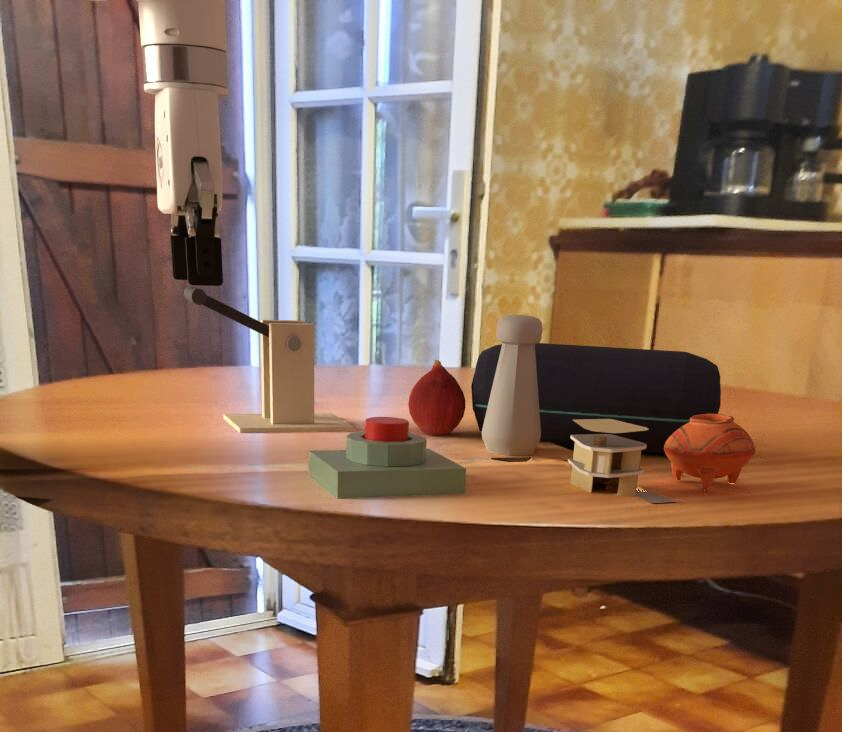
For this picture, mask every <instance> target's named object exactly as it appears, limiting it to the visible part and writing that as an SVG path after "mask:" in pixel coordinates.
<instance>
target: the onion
mask: <svg viewBox="0 0 842 732" xmlns="http://www.w3.org/2000/svg"><path fill="white" fill-rule="evenodd" d="M407 405H408V412H409V415H410V417H411V419H412V421H413V422H414V424H415V425H416V426H417V427H418V428H419V430H420V431H421V432H422V433H423V434H424V435H425V436H429V437H445V436H447V435H449V434H450V433H452V432H453V431H454V430H455V429H456V428H457V427H458V426H459V425H460V423H461V422H462V420H463V418H464V416H465V412H466V397H465V393H464V391H463V390H462V387H461V386H460V384H459V382H458V381H457V379H456V378H455V376H453V374H451V373H450V372H449V371H448V370H447V369H446V368H445V367H444V366H443V365H442V362H441V360H439V359H434V361H433V364H432V367H431V369H430V370H429V371H428V372H426V373H425V374H424V375H422V376H421V377H420V378H419V379H418V381H417V382H416V383H415V384H414V385H413V388H412V389H411V391H410V394H409V397H408V404H407Z"/></svg>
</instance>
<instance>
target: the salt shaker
mask: <svg viewBox="0 0 842 732" xmlns="http://www.w3.org/2000/svg"><path fill="white" fill-rule="evenodd" d="M542 338H543V322H542V321H541V319H540V318H538V317H536V316H534V315H533V316H532V315H528V314H527V315H524V314H506V315H504V316H501V318H500V319H499V320H498V321H497V326H496V340H497V341H498V342H500V343H501V344H502V347H501V352H500V356H499V360H498V364H497V369H496V373H495V377H494V381H493V386H492V390H491V394H490V398H489V403H488V407H487V411H486V416H485V420H484V424H483V428H482V432H481V439H482V441H483V444H484V447H485V449H486V451H487V452H489V453H490V454H495V455H501V456H508V457H490V459H491V460H493V461H499V462H505V463H527V462H528V461H529V460H531V459H532V456H530V455H533V454H534V452H535V451H536V449H537V447H538V445H539V443H540V442H541V441H540V438H541V426H540V412H539V398H538V384H537V370H536V356H535V344H537V343H541V341H542ZM510 456H511V457H510ZM512 456H513V457H512Z"/></svg>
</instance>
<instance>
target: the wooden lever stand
mask: <svg viewBox="0 0 842 732" xmlns="http://www.w3.org/2000/svg"><path fill="white" fill-rule="evenodd" d="M259 321H260V322H262V323H264V324H266V325H268V326H269V338H268V337H266V336H264V335H262V334H260V360H261V361H260V363H261V366H260V367H261V410H262V411H261V413H223V420H224V421H226V422H227V424H229V425H230V426H232V428H233V429H235V430H236V431H237V432H238V433H240V434H251V433H252V434H253V433H256V434H258V433H266V434H267V433H323V432H324V433H325V432H326V433H328V432H333V433H334V432H335V433H336V432H337V433H338V432H356V426H354V425H353V424H351V423H349V422H347V420H344V419H342V418H341V417H339V416H337V415H336V414H334V413H332V412H331V413H330V412H319V413H318V412H316V413H315V324H314V323H305V321H304V320H297V319H296V320H295V319H293V320H291V319H290V320H289V319H260V320H259ZM268 344H269V345H268Z"/></svg>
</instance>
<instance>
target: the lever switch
mask: <svg viewBox="0 0 842 732" xmlns="http://www.w3.org/2000/svg"><path fill="white" fill-rule="evenodd" d="M183 296H184V298H185V300H186V301H188V302H190V303H192V304H195V305H197V306H204V307H205V308H208V309H210V310H212V311H214V312H216V313H217V314H220V315H221V316H223V317H225V318H227V319H230V320H232V321H234V322H236V323H238V324H240V325H242V326H244V327H246V328H248V329H250V330H252V331H254V332H256V333H259V334H260V335H261V334H262V335H264V336H266V337H268V338H269V326H268V325H266V324H264V323H262V322H260V320H258V319H256V318H253V317H251V316H250V315H247V314H245V313H243V312H241V311H240V310H238V309H236V308H233V307H232V306H229V305H228V304H226V303H224V302H221V301H219V300H217V299H216V298H213V297H212V296H210V295H208V294H207V292H206V291H205V290H204V289H202V288H198V287H196V286H194V285H188V286H186V287H185V288H184V291H183ZM268 345H269V344H268Z"/></svg>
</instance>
